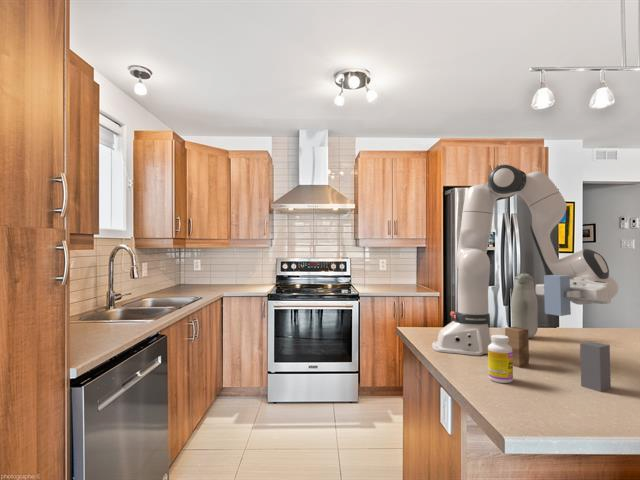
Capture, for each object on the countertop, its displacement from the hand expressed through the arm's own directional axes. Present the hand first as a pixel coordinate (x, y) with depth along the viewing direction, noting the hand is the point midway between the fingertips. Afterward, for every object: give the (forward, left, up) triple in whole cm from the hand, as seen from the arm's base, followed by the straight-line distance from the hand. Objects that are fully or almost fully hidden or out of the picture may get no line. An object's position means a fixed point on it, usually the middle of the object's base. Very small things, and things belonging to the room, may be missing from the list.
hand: (555, 293), depth 119 cm
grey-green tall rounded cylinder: (+5, +51, -25) cm, 57 cm away
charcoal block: (+6, -11, -25) cm, 28 cm away
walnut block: (-9, +8, -25) cm, 28 cm away
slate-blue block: (+1, +1, -6) cm, 7 cm away
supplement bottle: (-18, -9, -25) cm, 33 cm away
